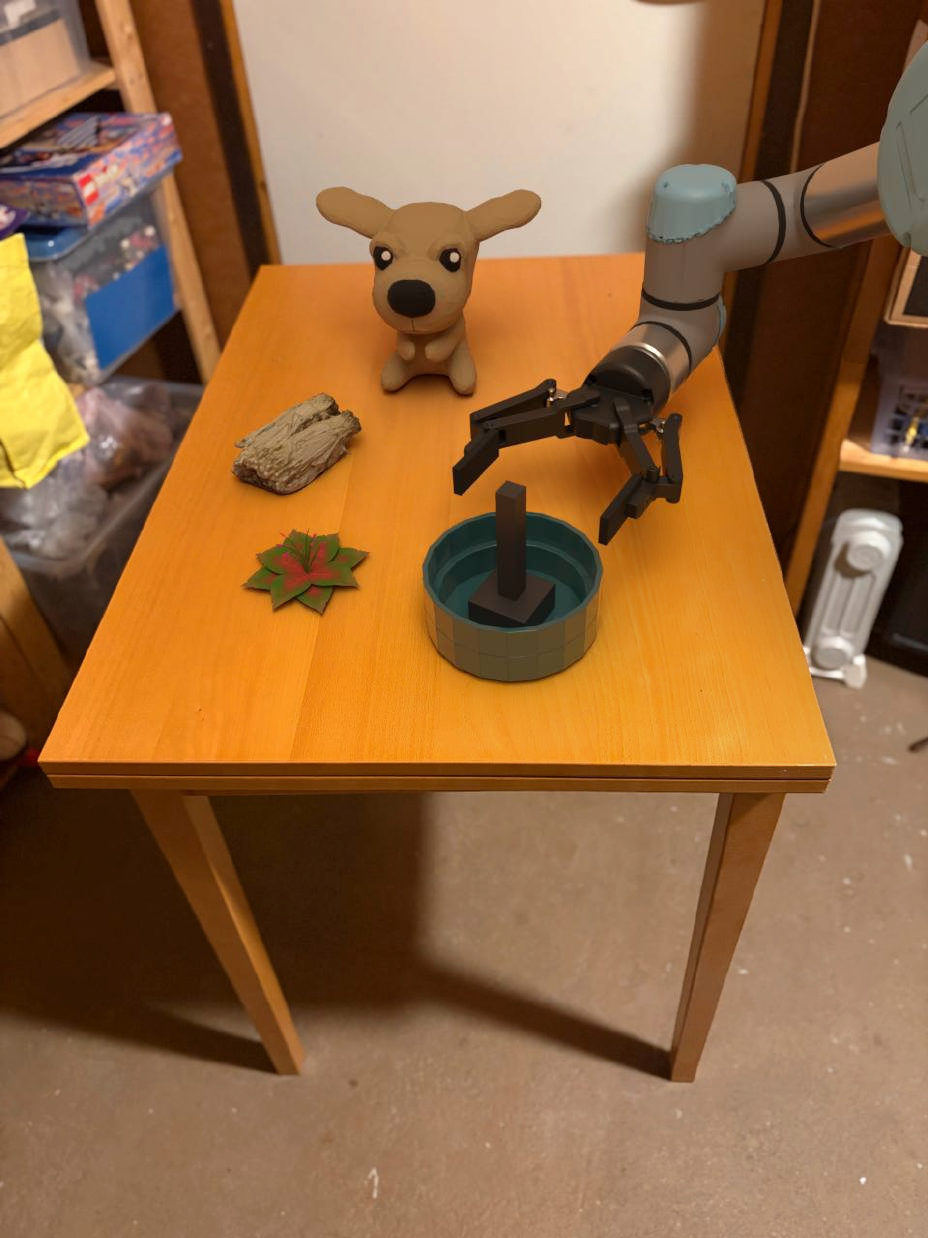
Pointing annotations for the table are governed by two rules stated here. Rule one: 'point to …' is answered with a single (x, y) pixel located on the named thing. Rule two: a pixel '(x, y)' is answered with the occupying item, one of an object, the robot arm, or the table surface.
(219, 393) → the table surface
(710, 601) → the table surface
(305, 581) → the lily flower
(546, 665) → the bowl
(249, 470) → the weathered wood chunk
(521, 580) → the post on square base
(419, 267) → the toy
